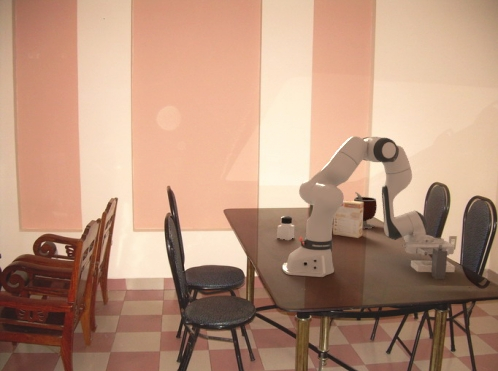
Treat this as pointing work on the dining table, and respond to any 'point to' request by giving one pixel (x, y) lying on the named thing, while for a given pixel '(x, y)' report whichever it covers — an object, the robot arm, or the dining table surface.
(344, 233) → the coffeecake box
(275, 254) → the dining table surface
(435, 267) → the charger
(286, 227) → the medicine bottle
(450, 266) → the beige holder tray
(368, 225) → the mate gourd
